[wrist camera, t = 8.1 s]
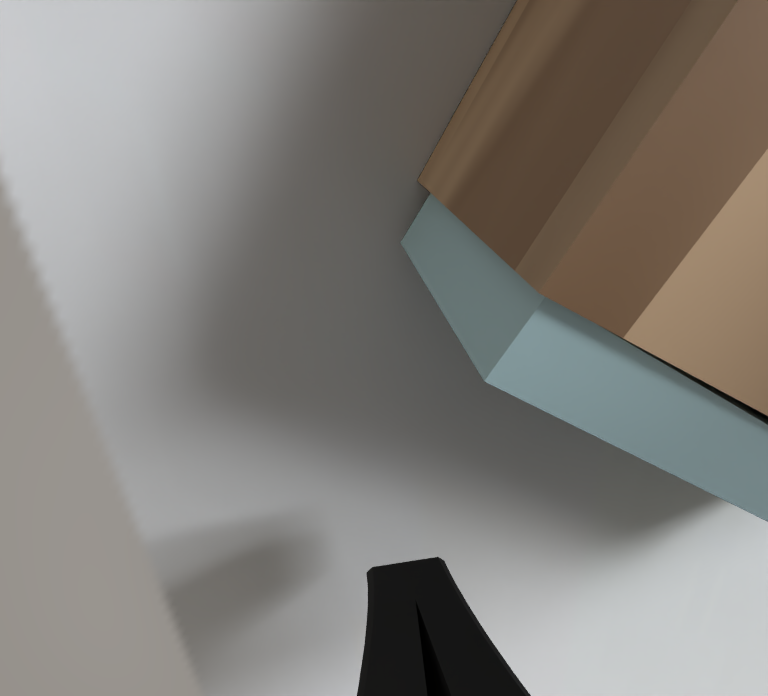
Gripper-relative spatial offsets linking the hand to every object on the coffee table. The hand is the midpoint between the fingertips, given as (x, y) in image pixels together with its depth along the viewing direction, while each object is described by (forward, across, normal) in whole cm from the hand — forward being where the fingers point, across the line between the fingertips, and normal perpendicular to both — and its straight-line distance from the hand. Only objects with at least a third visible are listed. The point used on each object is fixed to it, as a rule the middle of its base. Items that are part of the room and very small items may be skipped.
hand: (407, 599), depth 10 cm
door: (+2, -6, -3) cm, 7 cm away
